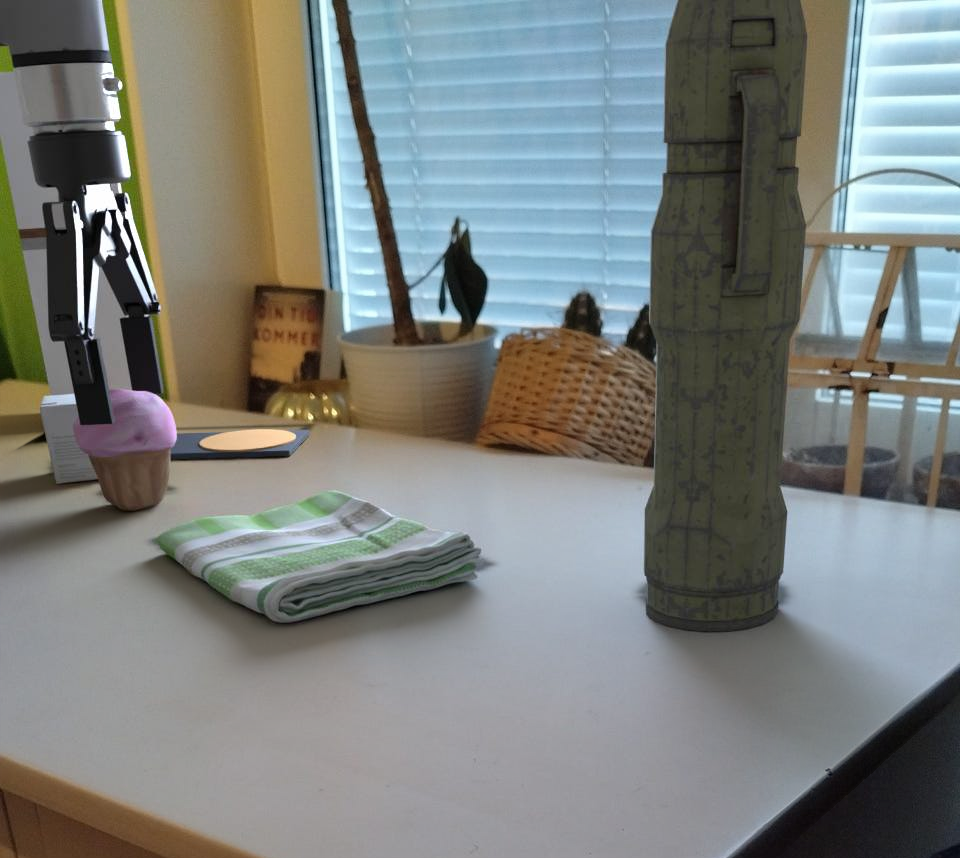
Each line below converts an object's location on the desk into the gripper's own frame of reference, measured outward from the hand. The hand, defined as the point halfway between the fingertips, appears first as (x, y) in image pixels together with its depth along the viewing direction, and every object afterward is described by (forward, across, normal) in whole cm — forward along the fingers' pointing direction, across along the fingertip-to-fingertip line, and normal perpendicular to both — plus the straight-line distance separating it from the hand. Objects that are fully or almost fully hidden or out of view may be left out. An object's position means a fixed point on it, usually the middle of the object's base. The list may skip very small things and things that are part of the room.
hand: (124, 408), depth 114 cm
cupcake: (+8, 0, 0) cm, 9 cm away
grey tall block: (+8, +36, +15) cm, 40 cm away
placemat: (+8, +23, +2) cm, 25 cm away
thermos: (+9, -31, -49) cm, 58 cm away
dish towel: (+9, -20, -20) cm, 29 cm away
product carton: (+8, +12, +9) cm, 17 cm away
